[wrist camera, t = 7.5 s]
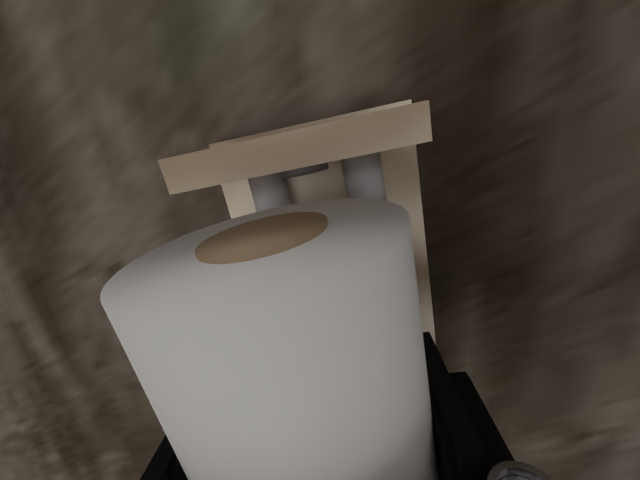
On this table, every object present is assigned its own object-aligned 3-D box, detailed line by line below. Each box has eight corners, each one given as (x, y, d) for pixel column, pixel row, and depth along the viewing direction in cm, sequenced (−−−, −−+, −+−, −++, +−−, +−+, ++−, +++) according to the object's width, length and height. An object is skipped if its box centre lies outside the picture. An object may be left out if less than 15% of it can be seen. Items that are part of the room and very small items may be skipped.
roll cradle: (434, 368, 22) (484, 491, 14) (288, 384, 23) (261, 503, 16) (406, 101, 16) (462, 69, 9) (217, 144, 18) (124, 148, 10)
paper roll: (423, 470, 13) (492, 743, 7) (285, 480, 13) (245, 734, 8) (384, 183, 9) (464, 267, 3) (195, 219, 10) (-14, 339, 4)
